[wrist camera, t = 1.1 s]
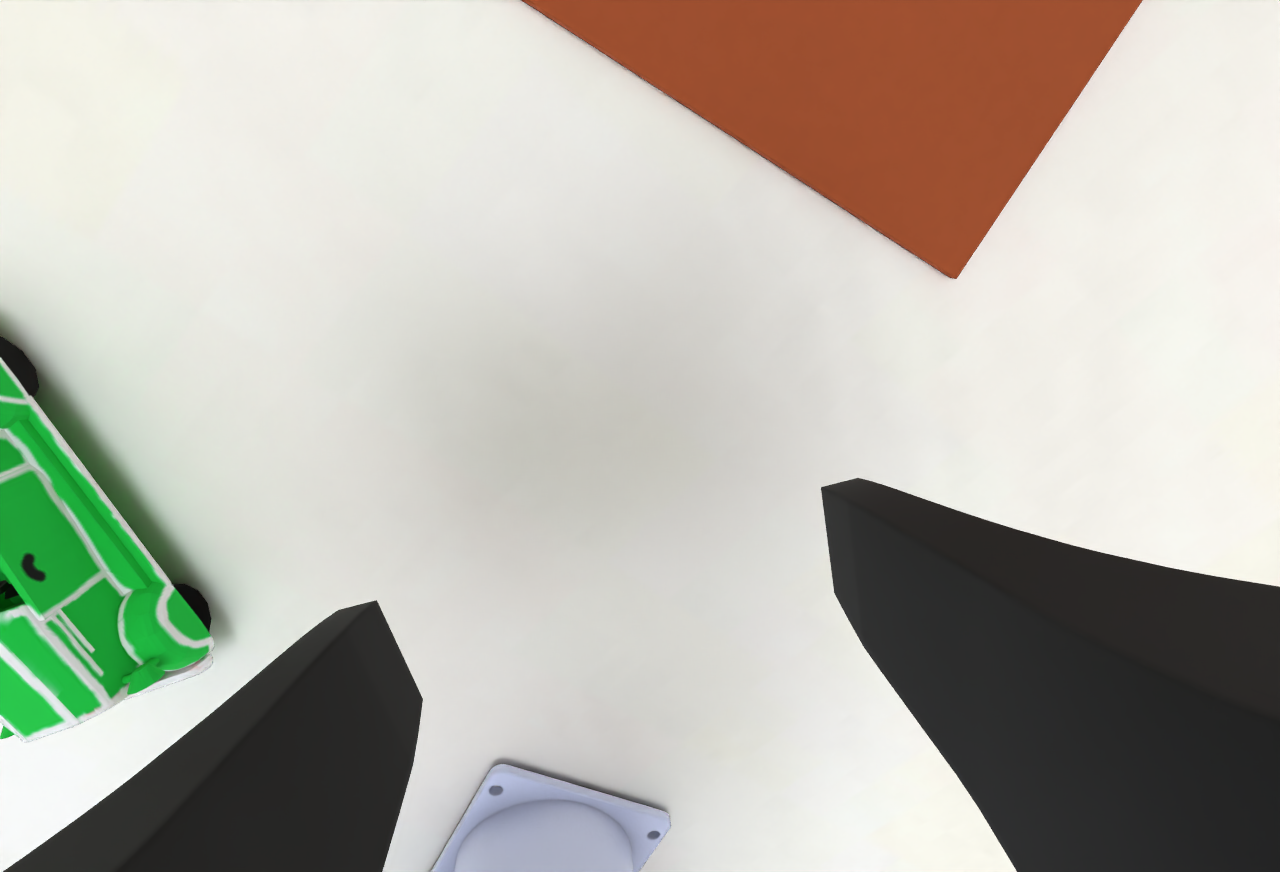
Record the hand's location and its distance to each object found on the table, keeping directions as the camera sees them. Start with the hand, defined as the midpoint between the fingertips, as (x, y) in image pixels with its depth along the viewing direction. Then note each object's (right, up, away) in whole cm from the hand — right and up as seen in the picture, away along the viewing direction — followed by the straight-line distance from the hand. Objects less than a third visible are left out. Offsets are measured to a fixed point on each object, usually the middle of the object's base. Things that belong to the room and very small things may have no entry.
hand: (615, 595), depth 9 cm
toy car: (-17, 0, +9) cm, 19 cm away
